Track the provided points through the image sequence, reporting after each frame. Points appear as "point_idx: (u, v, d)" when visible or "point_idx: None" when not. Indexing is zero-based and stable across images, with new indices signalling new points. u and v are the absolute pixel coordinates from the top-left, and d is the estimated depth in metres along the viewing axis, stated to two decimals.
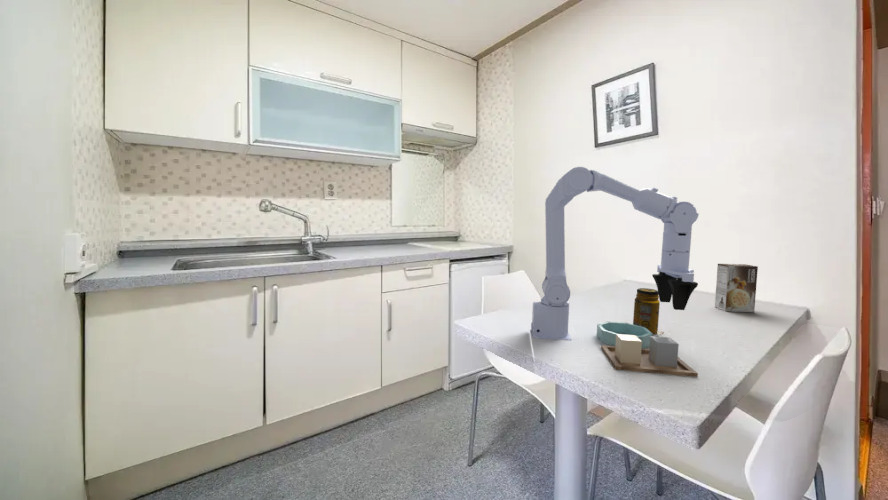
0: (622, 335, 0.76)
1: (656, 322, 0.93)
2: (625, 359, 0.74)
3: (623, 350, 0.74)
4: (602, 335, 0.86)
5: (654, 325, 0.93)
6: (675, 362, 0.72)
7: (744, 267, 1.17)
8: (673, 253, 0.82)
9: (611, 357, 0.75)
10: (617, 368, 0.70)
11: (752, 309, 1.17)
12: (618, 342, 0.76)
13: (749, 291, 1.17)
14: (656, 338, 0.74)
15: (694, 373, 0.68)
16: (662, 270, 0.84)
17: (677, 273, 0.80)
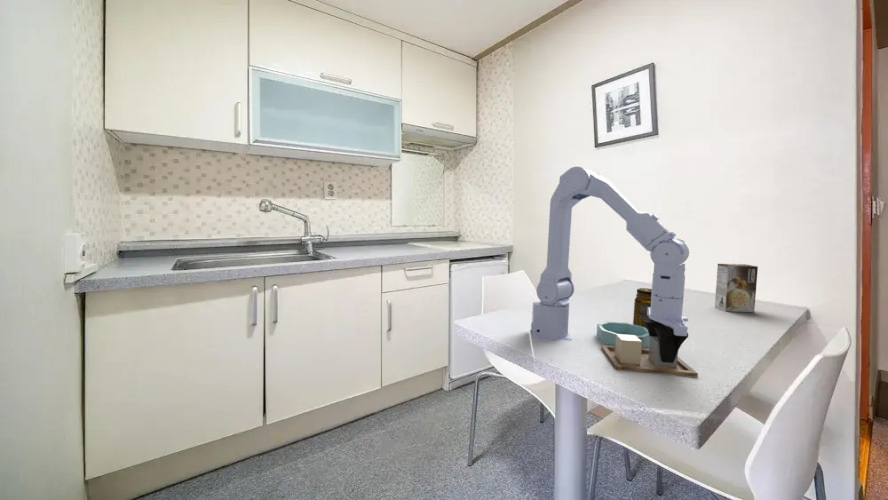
0: (622, 335, 0.76)
1: None
2: (625, 359, 0.74)
3: (623, 350, 0.74)
4: (602, 335, 0.86)
5: None
6: (675, 362, 0.72)
7: (744, 267, 1.17)
8: (664, 299, 0.71)
9: (611, 357, 0.75)
10: (617, 368, 0.70)
11: (752, 309, 1.17)
12: (618, 342, 0.76)
13: (749, 291, 1.17)
14: (656, 338, 0.74)
15: (694, 373, 0.68)
16: (651, 317, 0.73)
17: (668, 324, 0.69)
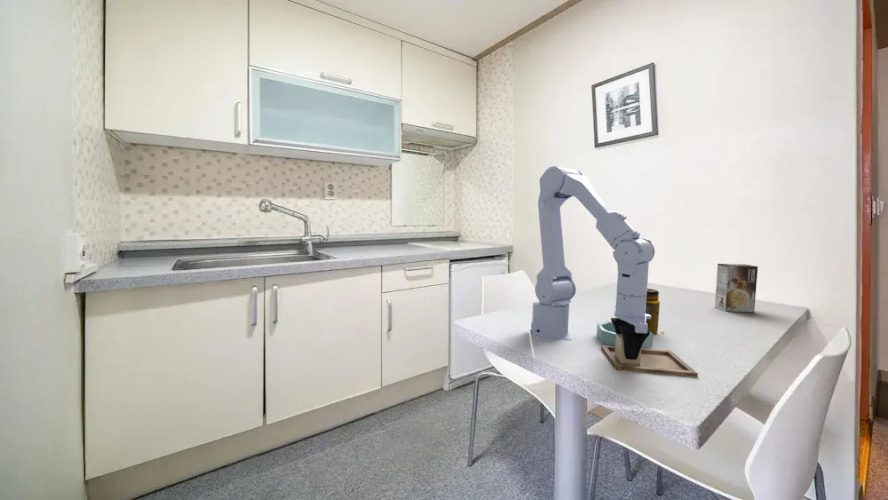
0: None
1: (656, 322, 0.93)
2: (625, 359, 0.74)
3: (623, 350, 0.74)
4: (602, 335, 0.86)
5: (654, 325, 0.93)
6: None
7: (744, 267, 1.17)
8: (627, 297, 0.72)
9: (611, 357, 0.75)
10: (617, 368, 0.70)
11: (752, 309, 1.17)
12: (618, 342, 0.76)
13: (749, 291, 1.17)
14: None
15: (694, 373, 0.68)
16: (616, 315, 0.74)
17: (630, 321, 0.70)
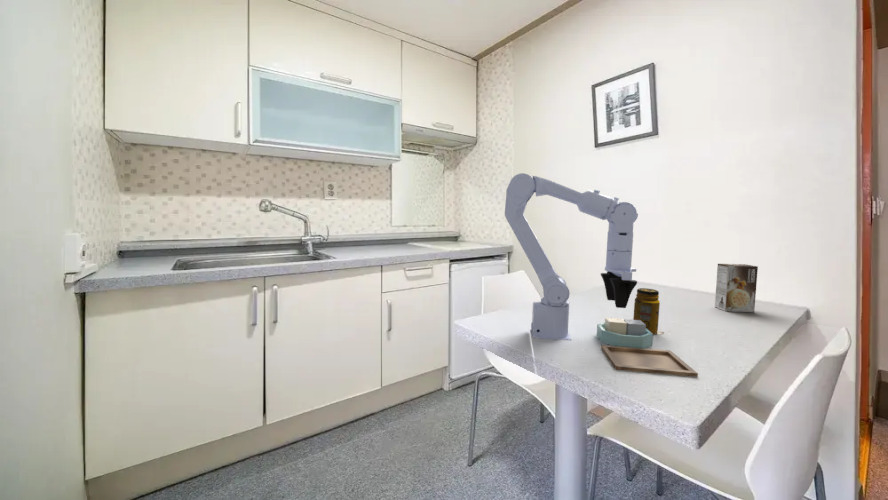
0: (610, 318, 0.89)
1: (656, 322, 0.93)
2: None
3: (611, 331, 0.86)
4: (602, 335, 0.86)
5: (654, 325, 0.93)
6: None
7: (744, 267, 1.17)
8: (615, 252, 0.84)
9: (611, 357, 0.75)
10: (617, 368, 0.70)
11: (752, 309, 1.17)
12: (606, 324, 0.88)
13: (749, 291, 1.17)
14: (634, 320, 0.87)
15: (694, 373, 0.68)
16: (606, 269, 0.86)
17: (618, 271, 0.82)
